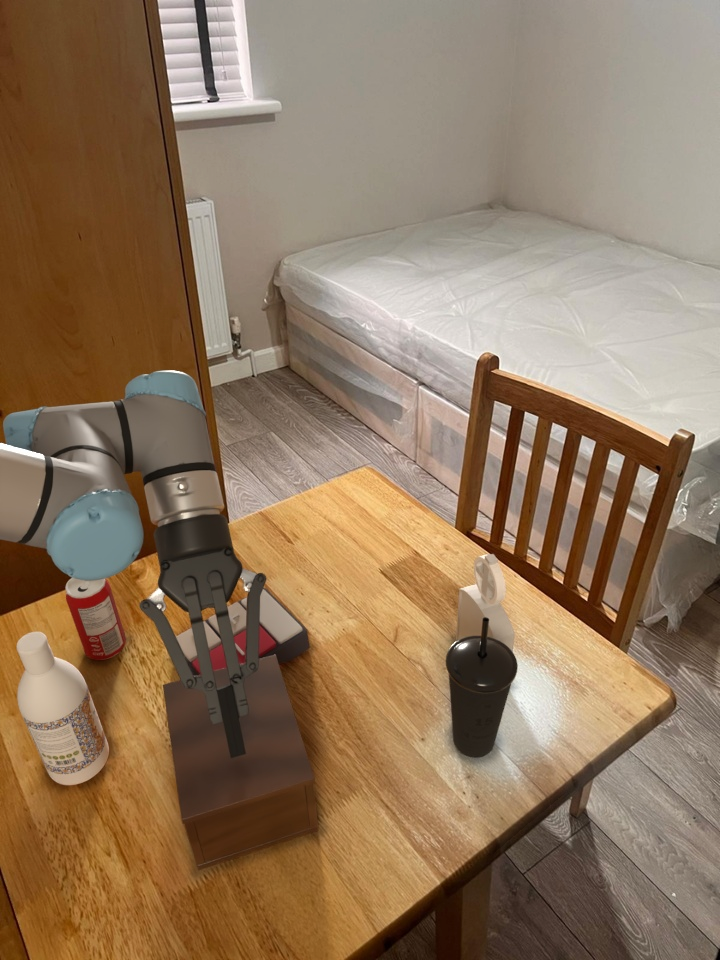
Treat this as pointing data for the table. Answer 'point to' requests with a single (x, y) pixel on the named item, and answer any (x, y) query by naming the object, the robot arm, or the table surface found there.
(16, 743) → the table surface
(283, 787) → the chest lid
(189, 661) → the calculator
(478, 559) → the gravestone
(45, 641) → the bath foam
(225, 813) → the chest
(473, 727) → the drinking cup
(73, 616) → the soda can
